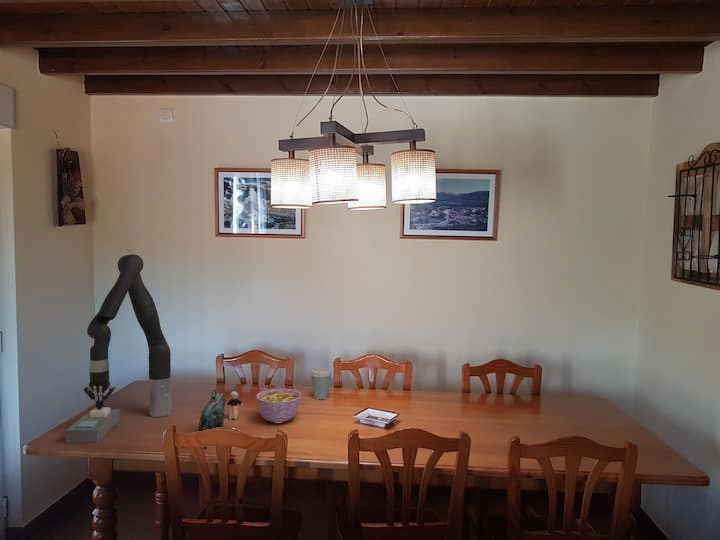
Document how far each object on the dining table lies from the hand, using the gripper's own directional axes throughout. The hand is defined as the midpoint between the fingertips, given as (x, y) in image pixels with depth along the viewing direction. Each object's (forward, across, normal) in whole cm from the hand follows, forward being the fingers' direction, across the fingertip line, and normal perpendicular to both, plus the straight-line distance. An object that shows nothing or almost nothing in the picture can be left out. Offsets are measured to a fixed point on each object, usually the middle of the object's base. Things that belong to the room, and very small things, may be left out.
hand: (99, 408), depth 224 cm
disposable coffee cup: (+7, -95, -35) cm, 102 cm away
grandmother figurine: (+7, -56, -7) cm, 57 cm away
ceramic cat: (+8, -51, +16) cm, 54 cm away
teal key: (+5, 0, +12) cm, 13 cm away
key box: (+8, 0, +6) cm, 10 cm away
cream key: (+3, 0, 0) cm, 3 cm away
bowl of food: (+7, -76, -5) cm, 77 cm away
